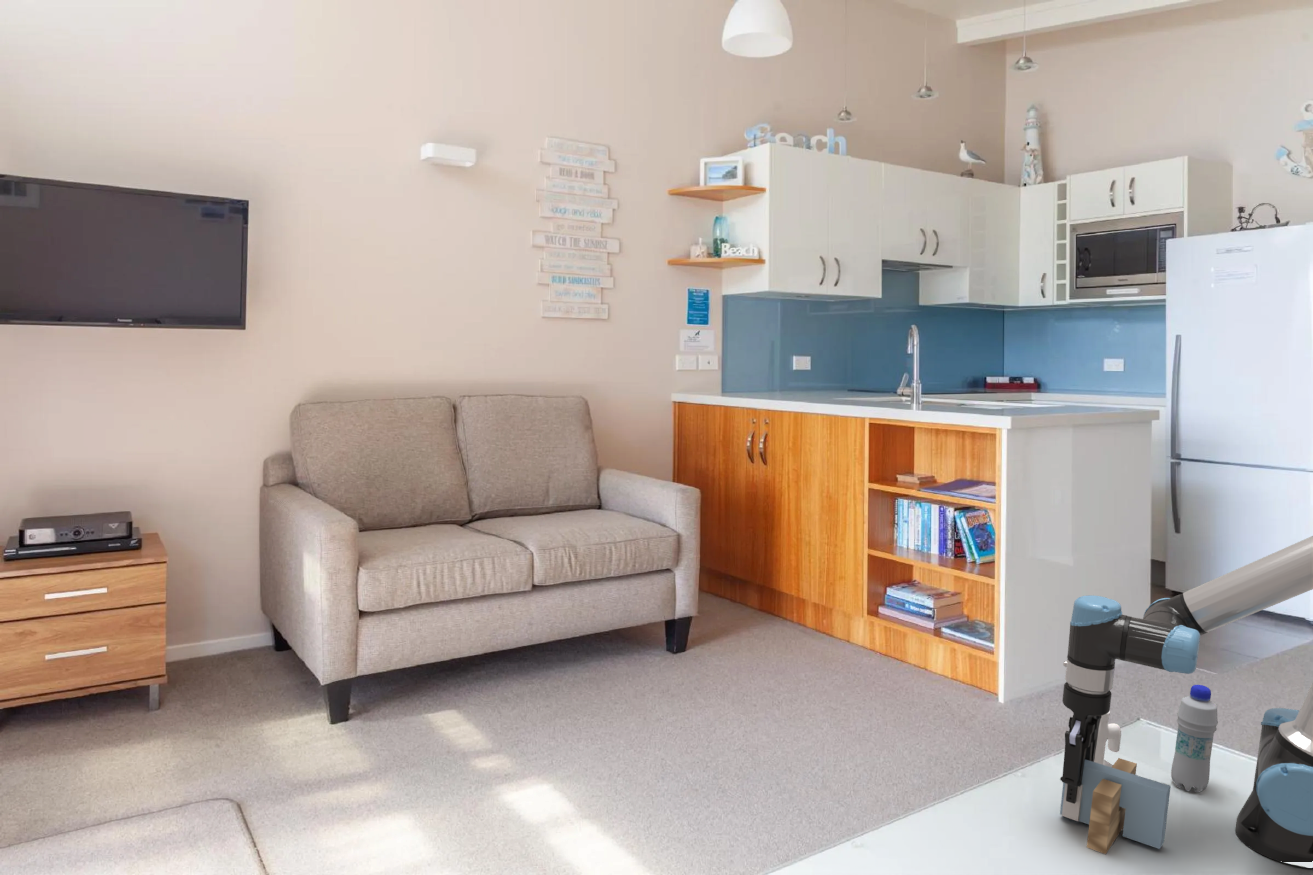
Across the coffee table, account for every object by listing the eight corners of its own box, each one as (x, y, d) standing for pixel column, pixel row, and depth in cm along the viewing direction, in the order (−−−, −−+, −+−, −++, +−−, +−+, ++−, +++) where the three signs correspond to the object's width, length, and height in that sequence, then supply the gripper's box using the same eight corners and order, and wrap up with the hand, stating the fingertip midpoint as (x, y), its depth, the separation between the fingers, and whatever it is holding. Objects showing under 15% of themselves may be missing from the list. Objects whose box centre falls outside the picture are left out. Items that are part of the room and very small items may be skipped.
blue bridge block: (1163, 841, 164) (1170, 785, 162) (1159, 848, 161) (1166, 792, 160) (1065, 807, 174) (1070, 754, 172) (1059, 814, 171) (1065, 760, 170)
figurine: (1127, 790, 182) (1136, 714, 180) (1085, 796, 180) (1094, 718, 177) (1099, 771, 189) (1107, 698, 187) (1058, 777, 186) (1067, 702, 184)
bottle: (1207, 798, 180) (1221, 695, 177) (1166, 787, 184) (1179, 686, 181) (1209, 784, 186) (1223, 684, 183) (1170, 773, 190) (1183, 675, 187)
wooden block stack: (1130, 816, 173) (1136, 763, 171) (1105, 854, 161) (1112, 797, 159) (1112, 810, 175) (1118, 757, 173) (1086, 847, 162) (1093, 790, 161)
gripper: (1078, 667, 176) (1065, 789, 180) (1050, 693, 164) (1036, 823, 167) (1123, 679, 172) (1108, 803, 175) (1097, 706, 159) (1082, 840, 163)
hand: (1073, 813), depth 171 cm, fingers closed on blue bridge block, 3 cm apart
